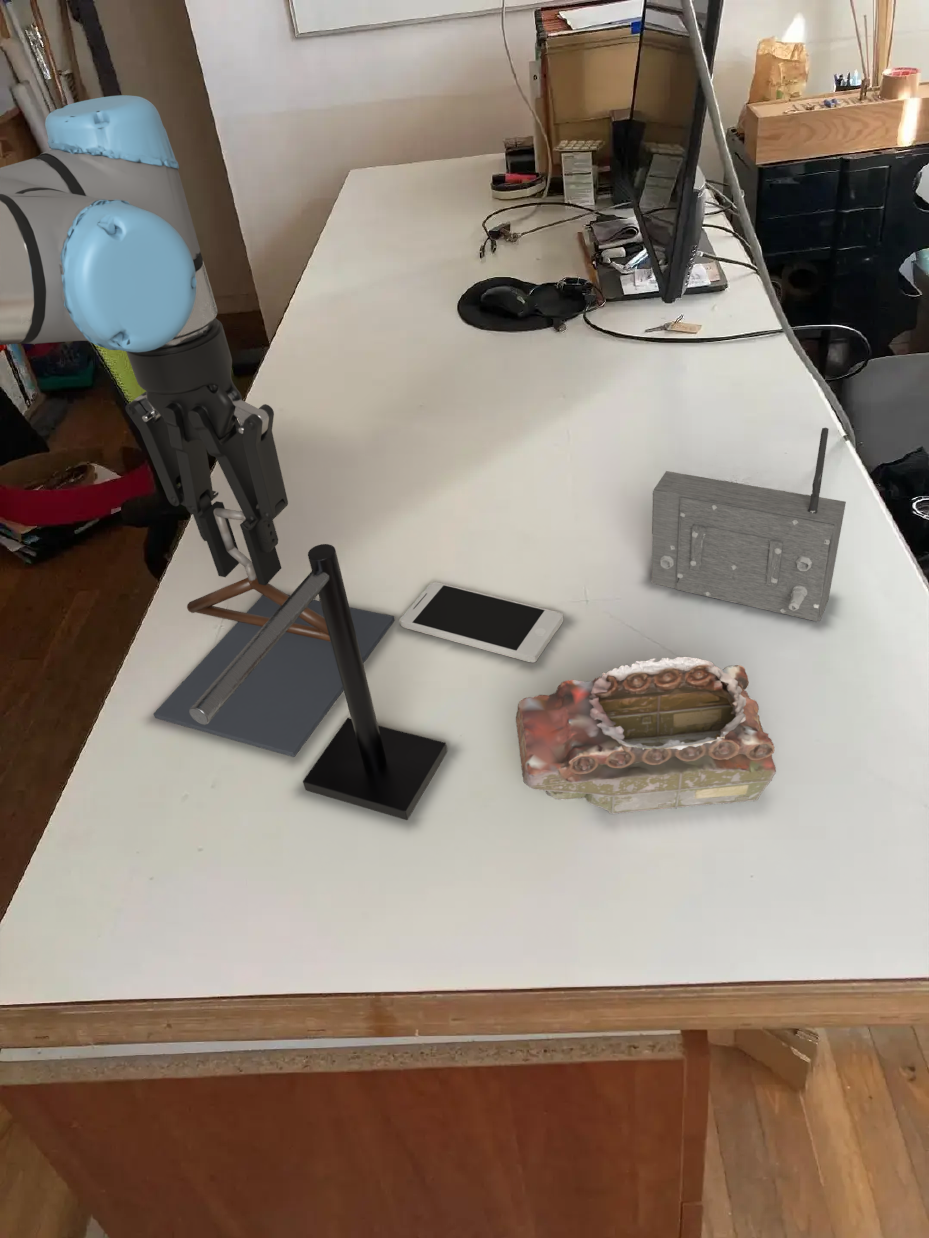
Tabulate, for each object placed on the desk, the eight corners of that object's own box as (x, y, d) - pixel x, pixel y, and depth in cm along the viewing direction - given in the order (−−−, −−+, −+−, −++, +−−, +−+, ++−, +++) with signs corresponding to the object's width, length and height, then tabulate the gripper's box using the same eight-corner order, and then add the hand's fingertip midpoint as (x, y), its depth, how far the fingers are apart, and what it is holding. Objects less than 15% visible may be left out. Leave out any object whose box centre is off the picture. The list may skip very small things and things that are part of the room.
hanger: (186, 614, 93) (141, 500, 85) (193, 606, 94) (149, 493, 86) (351, 649, 86) (319, 529, 78) (357, 641, 87) (327, 521, 78)
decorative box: (783, 864, 70) (799, 779, 63) (517, 865, 72) (507, 783, 66) (755, 735, 80) (765, 651, 73) (522, 740, 82) (513, 659, 76)
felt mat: (155, 718, 90) (152, 713, 89) (268, 594, 103) (266, 590, 103) (294, 757, 84) (292, 752, 83) (395, 620, 97) (394, 616, 97)
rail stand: (350, 726, 86) (292, 512, 71) (447, 751, 82) (408, 530, 67) (228, 899, 73) (126, 680, 58) (338, 938, 69) (259, 716, 54)
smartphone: (534, 664, 89) (534, 656, 89) (399, 626, 96) (397, 619, 95) (564, 619, 94) (564, 612, 93) (433, 587, 101) (432, 580, 100)
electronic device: (829, 598, 92) (861, 416, 80) (812, 639, 88) (844, 454, 75) (660, 562, 100) (665, 390, 87) (638, 598, 95) (639, 424, 83)
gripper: (289, 314, 70) (348, 563, 85) (118, 303, 77) (201, 536, 92) (233, 357, 65) (306, 613, 80) (55, 341, 72) (153, 581, 86)
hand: (250, 571), depth 86 cm, fingers closed on hanger, 4 cm apart
